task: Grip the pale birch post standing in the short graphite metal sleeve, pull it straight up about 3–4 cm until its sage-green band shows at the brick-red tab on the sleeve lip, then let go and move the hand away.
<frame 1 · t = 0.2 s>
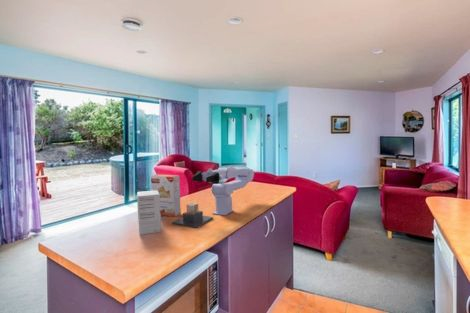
hand: (199, 179, 122), 21 cm above the counter, tool horizontal, fingers open, 7 cm apart
birch post: (192, 211, 127), point 5 cm above the counter, slide at 0.0 cm
stand: (193, 221, 128), on the counter
cracker box: (166, 214, 140), on the counter
supplement box: (150, 230, 118), on the counter
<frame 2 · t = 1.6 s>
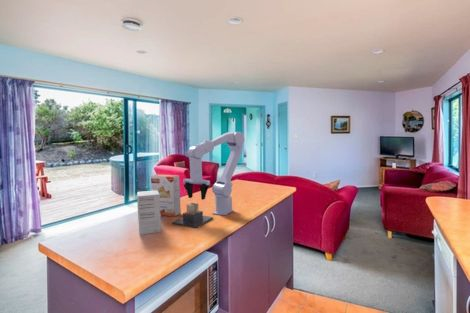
hand: (196, 198, 130), 10 cm above the counter, tool pointing down, fingers open, 7 cm apart
nothing on the counter moved.
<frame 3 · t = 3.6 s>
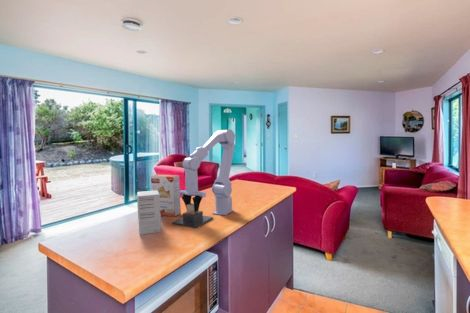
hand: (192, 210, 127), 5 cm above the counter, tool pointing down, fingers closed on birch post, 4 cm apart
birch post: (192, 211, 127), point 5 cm above the counter, slide at 0.0 cm, touching gripper
everything else where it was.
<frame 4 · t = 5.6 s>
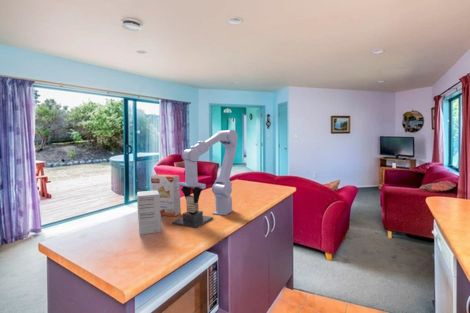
hand: (192, 202, 127), 9 cm above the counter, tool pointing down, fingers closed on birch post, 4 cm apart
birch post: (192, 203, 127), point 9 cm above the counter, slide at 3.9 cm, touching gripper
everything else where it was.
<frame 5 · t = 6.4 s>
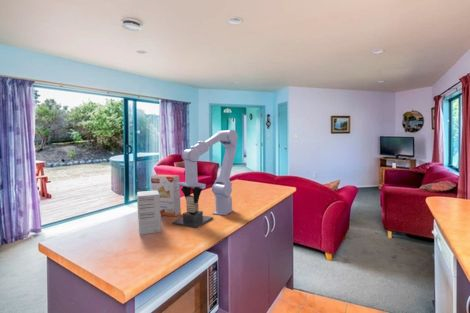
hand: (192, 202, 127), 9 cm above the counter, tool pointing down, fingers closed on birch post, 4 cm apart
birch post: (192, 203, 127), point 9 cm above the counter, slide at 3.9 cm, touching gripper
everything else where it was.
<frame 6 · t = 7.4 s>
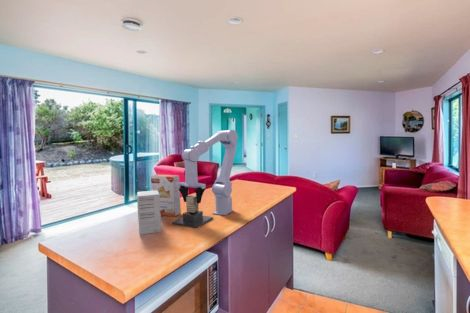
hand: (192, 202, 127), 9 cm above the counter, tool pointing down, fingers open, 7 cm apart
birch post: (192, 203, 127), point 9 cm above the counter, slide at 3.9 cm
everything else where it was.
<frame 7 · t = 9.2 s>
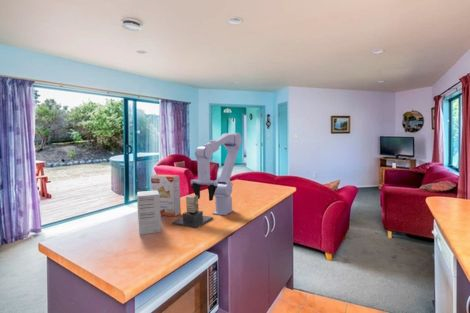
hand: (204, 199, 128), 10 cm above the counter, tool pointing down, fingers open, 7 cm apart
nothing on the counter moved.
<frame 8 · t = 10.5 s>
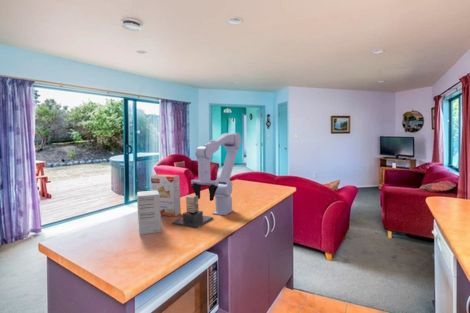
hand: (204, 199, 128), 10 cm above the counter, tool pointing down, fingers open, 7 cm apart
birch post: (192, 203, 127), point 9 cm above the counter, slide at 3.9 cm, touching gripper
everything else where it was.
at the end: birch post slide at 3.9 cm; the gripper is holding nothing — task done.
